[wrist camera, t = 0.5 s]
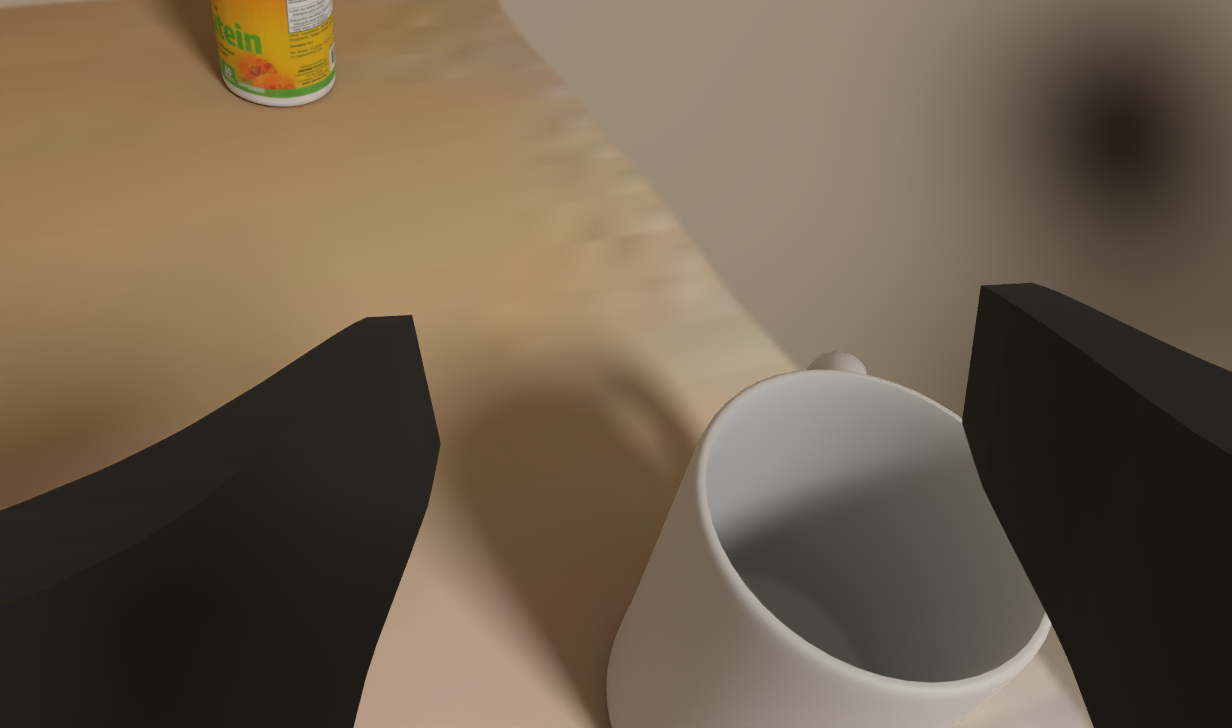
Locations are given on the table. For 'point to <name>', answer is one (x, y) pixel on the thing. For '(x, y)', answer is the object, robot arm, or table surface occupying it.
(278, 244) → the table surface
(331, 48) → the supplement bottle
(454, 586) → the table surface
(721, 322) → the table surface
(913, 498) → the mug
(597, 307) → the table surface
